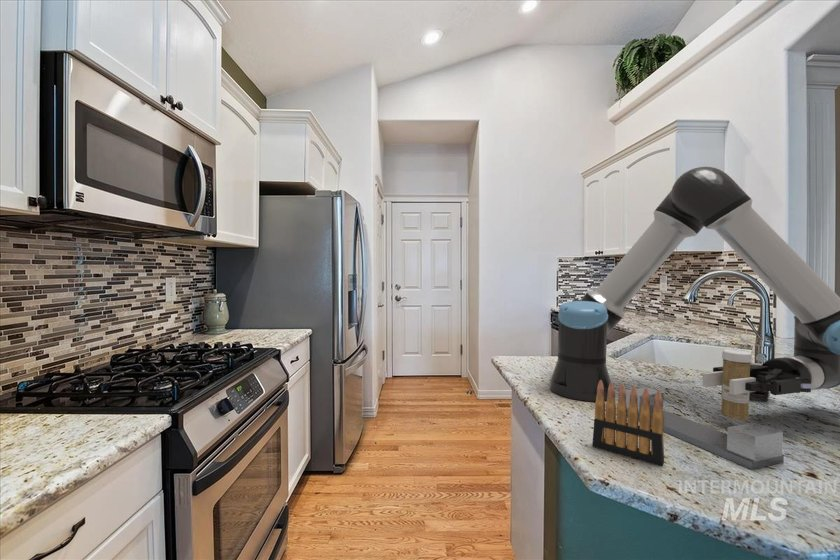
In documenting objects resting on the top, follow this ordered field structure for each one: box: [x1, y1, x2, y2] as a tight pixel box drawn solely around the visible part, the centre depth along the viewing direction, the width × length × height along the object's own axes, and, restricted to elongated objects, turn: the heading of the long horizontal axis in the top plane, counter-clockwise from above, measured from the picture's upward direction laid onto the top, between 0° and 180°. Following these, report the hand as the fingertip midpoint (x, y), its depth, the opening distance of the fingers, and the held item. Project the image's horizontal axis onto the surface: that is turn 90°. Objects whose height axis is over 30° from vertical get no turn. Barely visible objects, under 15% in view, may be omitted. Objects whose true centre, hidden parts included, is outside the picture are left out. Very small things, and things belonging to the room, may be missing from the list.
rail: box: [625, 387, 785, 470], centre depth 73 cm, size 25×8×5 cm, turn 19°
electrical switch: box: [749, 362, 771, 402], centre depth 96 cm, size 9×5×9 cm, turn 57°
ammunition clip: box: [591, 380, 665, 467], centre depth 65 cm, size 11×2×12 cm, turn 52°
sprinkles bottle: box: [720, 348, 753, 421], centre depth 77 cm, size 5×5×14 cm
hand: (717, 383), depth 75 cm, fingers closed on sprinkles bottle, 4 cm apart
